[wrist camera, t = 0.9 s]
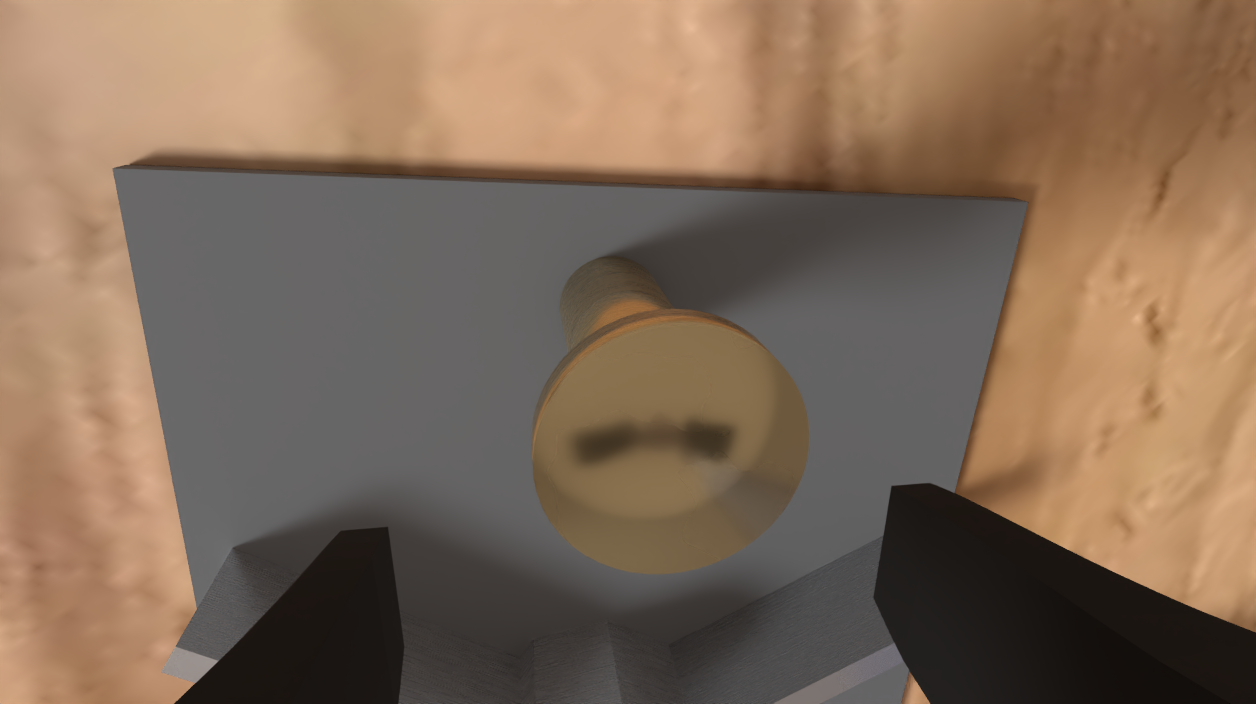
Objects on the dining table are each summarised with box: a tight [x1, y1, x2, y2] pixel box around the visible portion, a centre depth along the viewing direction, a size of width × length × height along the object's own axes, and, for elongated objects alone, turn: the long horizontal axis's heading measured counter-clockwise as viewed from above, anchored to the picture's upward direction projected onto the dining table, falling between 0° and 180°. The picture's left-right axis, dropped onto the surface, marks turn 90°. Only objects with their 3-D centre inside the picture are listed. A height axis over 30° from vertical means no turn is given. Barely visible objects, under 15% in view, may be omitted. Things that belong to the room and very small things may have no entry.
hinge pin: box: [531, 256, 809, 574], centre depth 15 cm, size 4×4×8 cm
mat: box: [113, 165, 1028, 704], centre depth 21 cm, size 22×20×1 cm
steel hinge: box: [162, 536, 904, 704], centre depth 20 cm, size 18×13×4 cm
